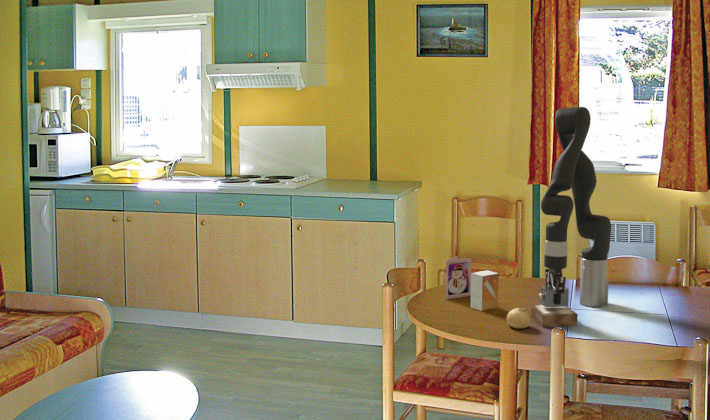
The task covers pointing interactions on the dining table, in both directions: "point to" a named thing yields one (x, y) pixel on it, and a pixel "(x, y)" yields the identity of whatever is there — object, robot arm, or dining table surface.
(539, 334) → the dining table surface
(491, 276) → the small box
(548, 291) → the block
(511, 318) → the onion
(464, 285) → the greeting card
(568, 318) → the stand
